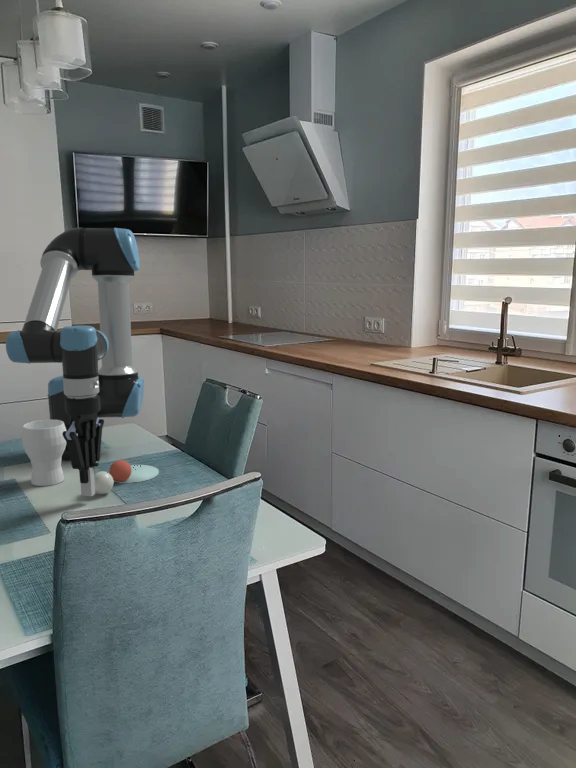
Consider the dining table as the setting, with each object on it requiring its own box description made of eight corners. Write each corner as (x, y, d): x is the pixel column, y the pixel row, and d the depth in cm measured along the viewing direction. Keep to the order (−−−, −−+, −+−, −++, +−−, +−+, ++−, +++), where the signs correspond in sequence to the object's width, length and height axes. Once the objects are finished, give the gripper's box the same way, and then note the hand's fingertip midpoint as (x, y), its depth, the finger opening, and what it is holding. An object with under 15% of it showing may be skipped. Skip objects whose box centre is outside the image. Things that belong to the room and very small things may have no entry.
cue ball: (85, 470, 140) (93, 486, 144) (87, 486, 136) (94, 502, 140) (108, 463, 141) (115, 479, 145) (110, 479, 137) (117, 494, 141)
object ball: (100, 473, 147) (111, 460, 152) (115, 489, 149) (125, 475, 153) (114, 466, 144) (125, 452, 149) (129, 481, 146) (139, 468, 151)
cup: (25, 477, 152) (20, 421, 149) (68, 471, 156) (65, 417, 153) (25, 491, 142) (20, 431, 140) (71, 485, 146) (67, 427, 144)
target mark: (95, 473, 155) (94, 472, 155) (142, 462, 164) (142, 461, 164) (120, 487, 145) (120, 486, 145) (169, 474, 154) (168, 473, 154)
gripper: (79, 402, 124) (86, 507, 128) (112, 390, 136) (117, 486, 141) (49, 400, 126) (56, 503, 130) (84, 388, 138) (90, 483, 142)
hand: (88, 494), depth 135 cm, fingers closed
